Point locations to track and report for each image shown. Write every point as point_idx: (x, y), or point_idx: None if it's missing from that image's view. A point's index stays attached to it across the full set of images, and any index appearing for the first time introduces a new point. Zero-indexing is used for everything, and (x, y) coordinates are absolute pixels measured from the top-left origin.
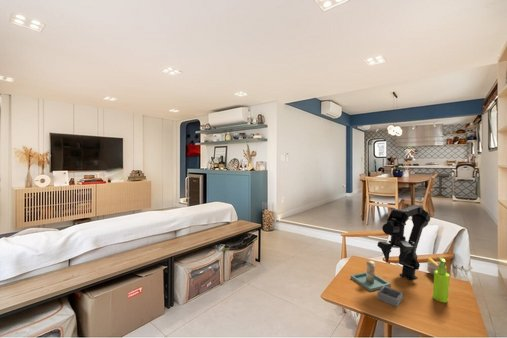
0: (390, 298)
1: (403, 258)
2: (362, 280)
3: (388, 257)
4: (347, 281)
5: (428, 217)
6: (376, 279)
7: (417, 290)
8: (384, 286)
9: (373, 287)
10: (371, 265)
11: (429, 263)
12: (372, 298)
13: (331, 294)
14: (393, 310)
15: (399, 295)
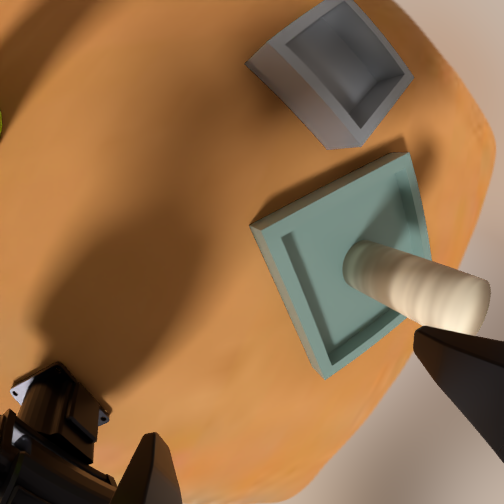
0: (364, 20)
1: (146, 485)
2: None
3: (479, 348)
4: (436, 258)
5: None
6: (311, 306)
7: (53, 219)
8: (362, 132)
9: (392, 165)
10: (474, 276)
11: None
12: None
13: (488, 151)
14: None
15: (309, 19)
